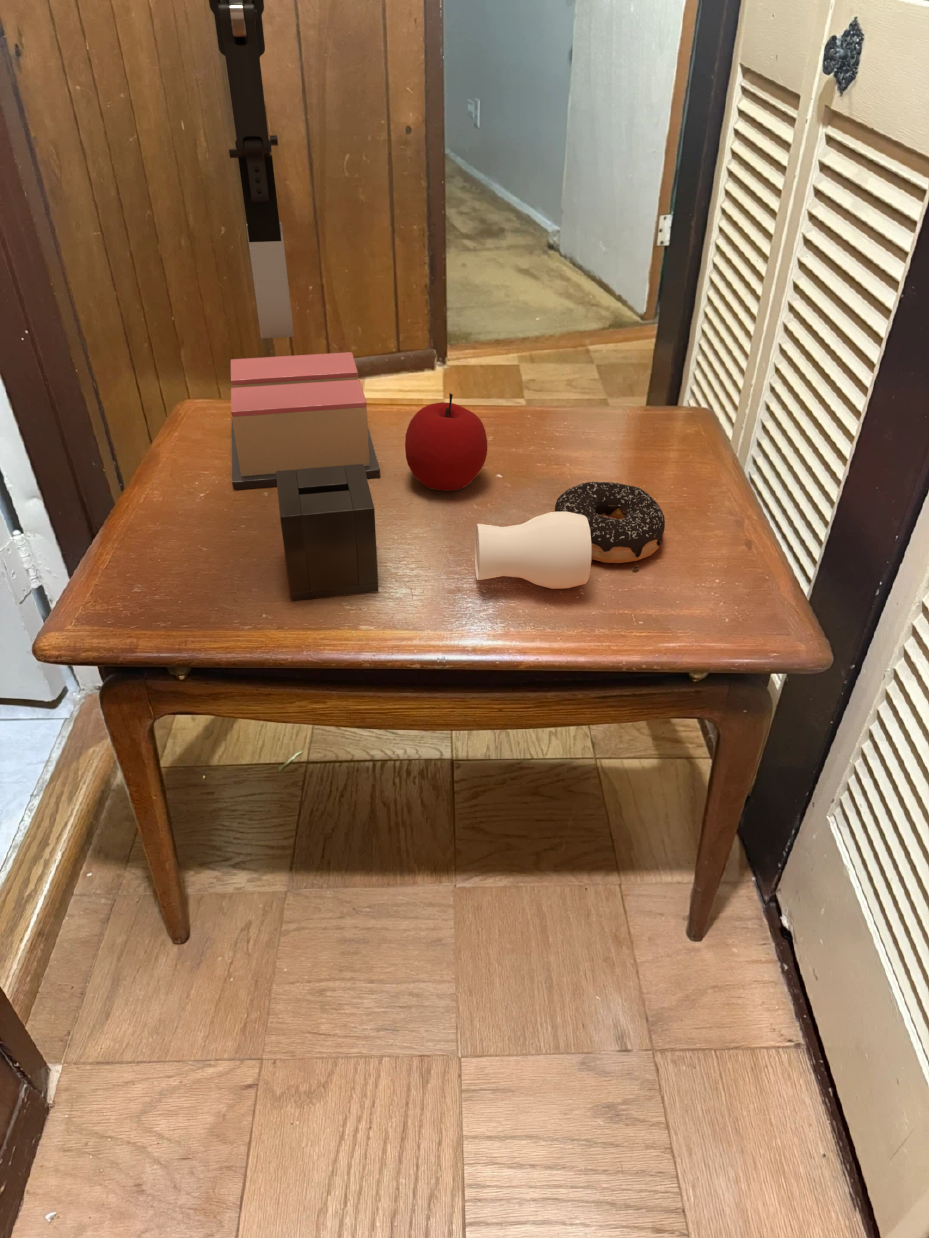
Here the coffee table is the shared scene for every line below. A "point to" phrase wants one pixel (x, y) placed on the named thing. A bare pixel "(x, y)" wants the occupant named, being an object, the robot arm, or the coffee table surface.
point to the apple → (445, 446)
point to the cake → (297, 417)
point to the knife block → (328, 531)
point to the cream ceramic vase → (537, 550)
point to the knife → (271, 284)
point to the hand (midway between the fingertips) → (264, 235)
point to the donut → (616, 519)
